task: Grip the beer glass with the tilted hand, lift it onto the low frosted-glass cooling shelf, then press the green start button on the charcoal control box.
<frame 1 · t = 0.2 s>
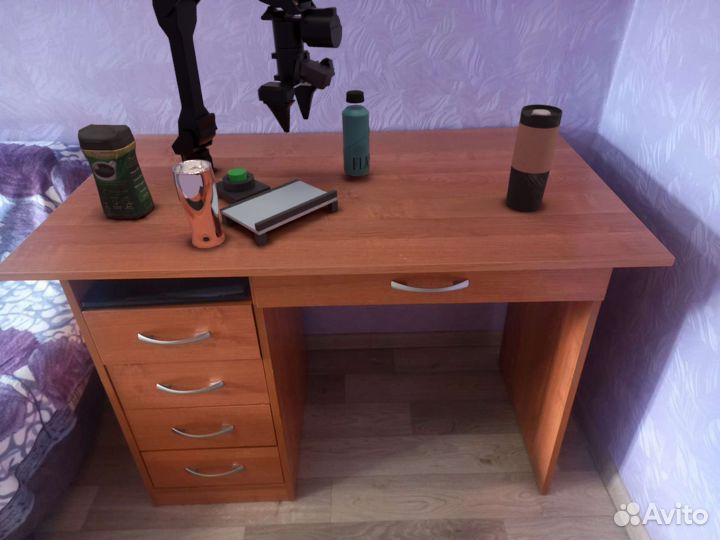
hand: (296, 125, 101), 15 cm above the table, tool pointing down, fingers open, 9 cm apart
beer glass: (208, 241, 91), on the table
control box: (240, 193, 108), on the table
beverage bottle: (356, 177, 115), on the table
travel mug: (522, 205, 102), on the table
start button: (237, 175, 105), point 5 cm above the table, slide at 0.1 cm
cooling shelf: (281, 216, 98), on the table
coffee jar: (130, 212, 101), on the table
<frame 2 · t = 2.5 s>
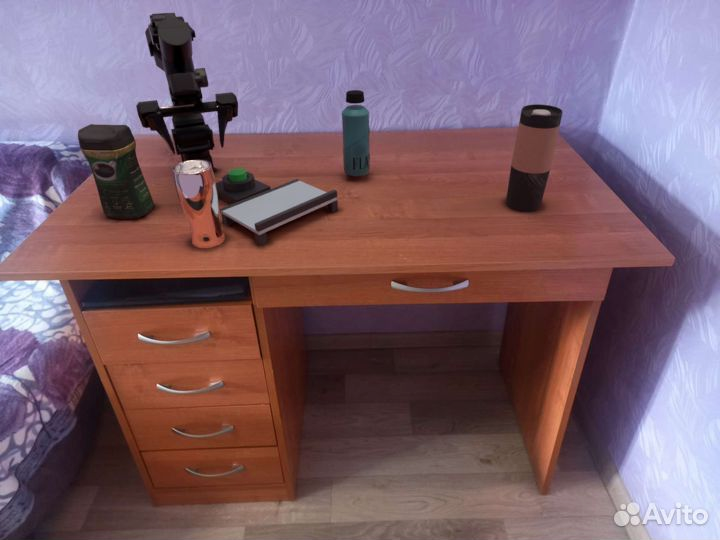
hand: (198, 150, 93), 14 cm above the table, tool tilted 40°, fingers open, 9 cm apart
nothing on the table moved.
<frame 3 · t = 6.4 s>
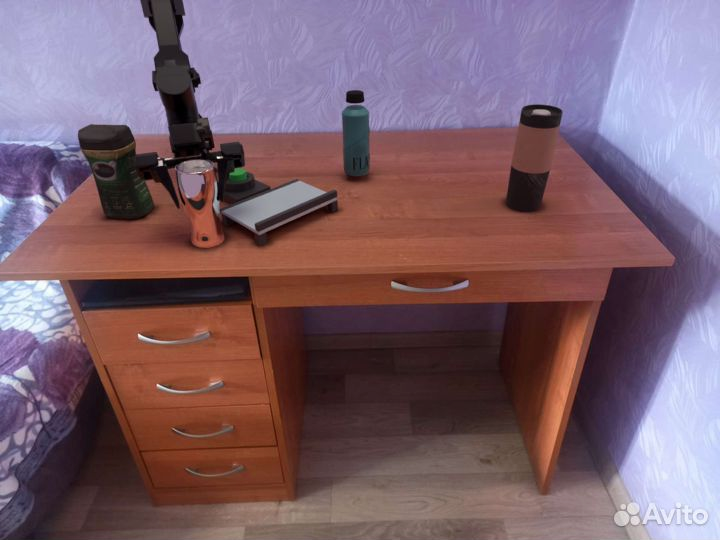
hand: (200, 204, 85), 8 cm above the table, tool tilted 45°, fingers closed on beer glass, 7 cm apart
beer glass: (208, 240, 91), on the table, touching gripper
everything else where it was.
when the fingers open (12 cm above the table, at t = 12.5 s): beer glass stays where it is, resting on cooling shelf.
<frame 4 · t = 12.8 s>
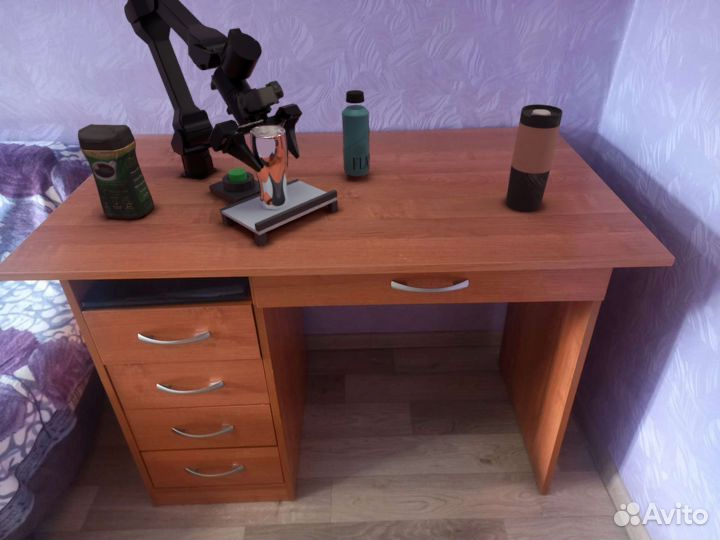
hand: (279, 164, 91), 12 cm above the table, tool tilted 45°, fingers open, 9 cm apart
beer glass: (275, 203, 97), point 3 cm above the table, touching cooling shelf, gripper
everything else where it was.
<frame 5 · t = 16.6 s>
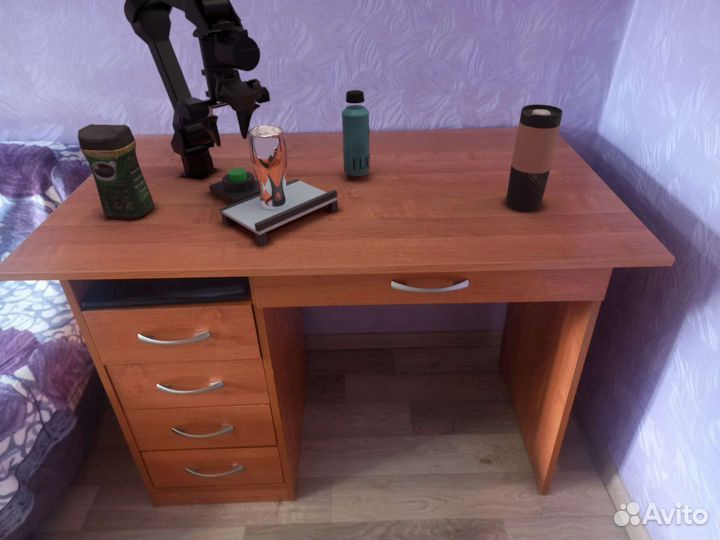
hand: (232, 142, 101), 12 cm above the table, tool pointing down, fingers open, 6 cm apart
beer glass: (275, 204, 97), point 3 cm above the table, touching cooling shelf
everything else where it was.
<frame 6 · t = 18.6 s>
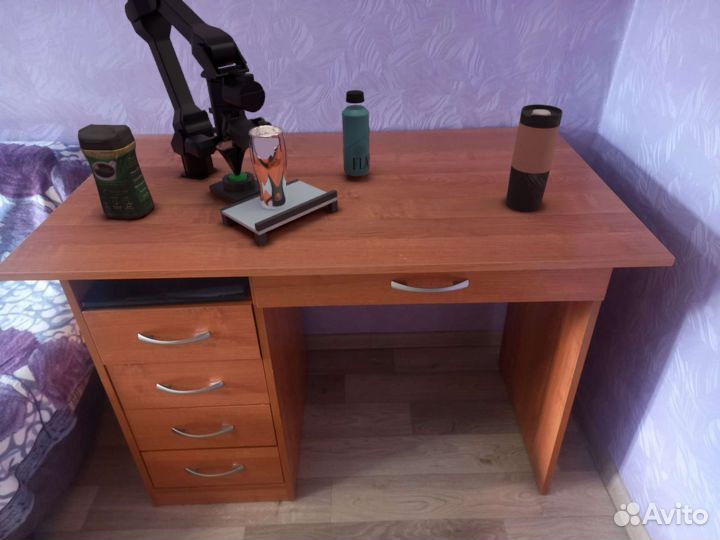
hand: (237, 174, 105), 5 cm above the table, tool pointing down, fingers closed, pressing on start button
start button: (238, 178, 106), point 4 cm above the table, slide at -0.6 cm, touching gripper
everything else where it was.
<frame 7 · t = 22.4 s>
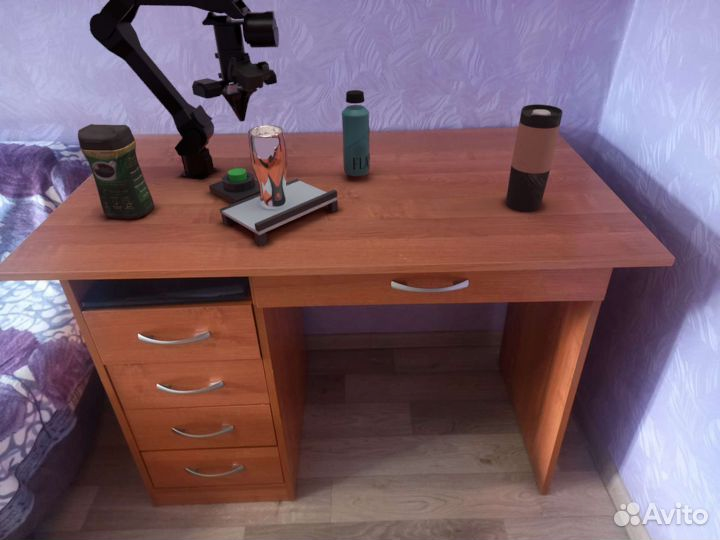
hand: (242, 121, 110), 13 cm above the table, tool pointing down, fingers closed
start button: (237, 175, 105), point 5 cm above the table, slide at 0.1 cm
everything else where it was.
at the end: beer glass inside the target area on the cooling shelf (1.1 cm from its centre), point 2.9 cm above the cooling shelf's base; start button pushed in 1.1 cm at the most during the clip, back to where it started at the end; start button slide at 0.1 cm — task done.
